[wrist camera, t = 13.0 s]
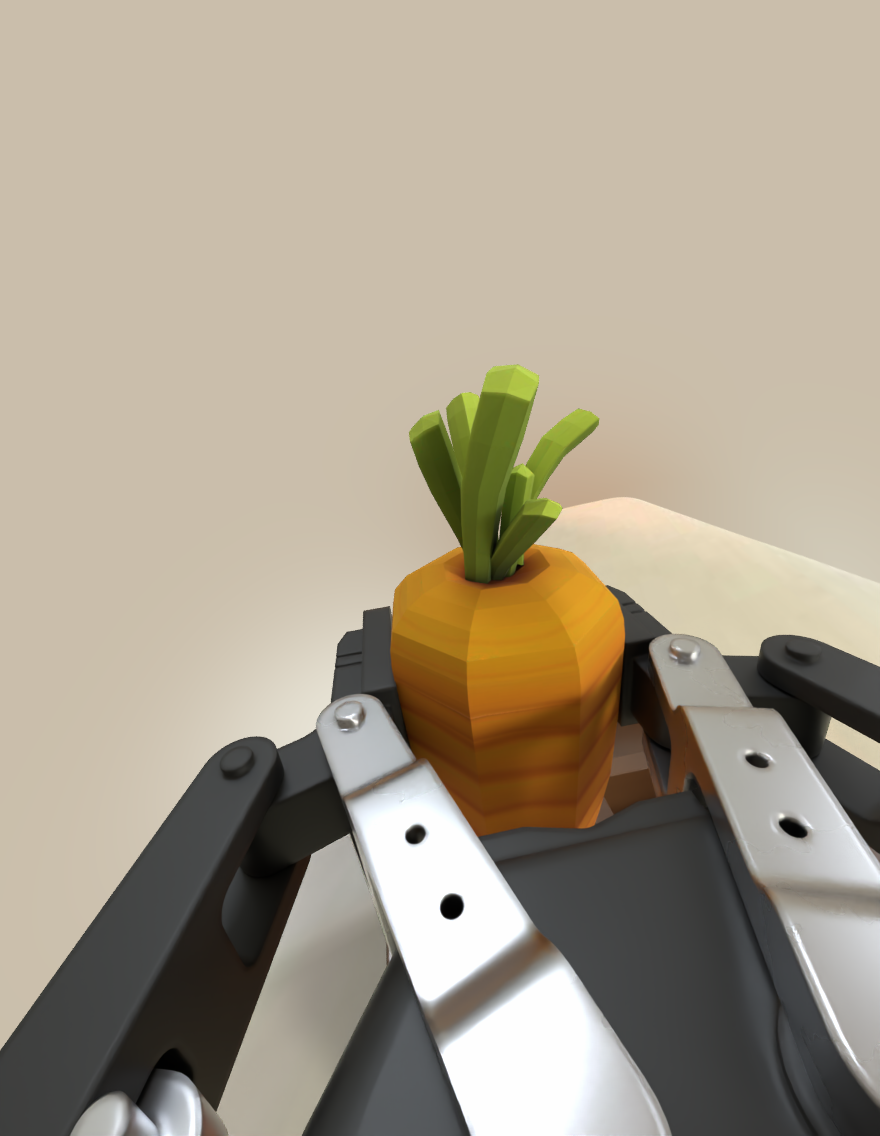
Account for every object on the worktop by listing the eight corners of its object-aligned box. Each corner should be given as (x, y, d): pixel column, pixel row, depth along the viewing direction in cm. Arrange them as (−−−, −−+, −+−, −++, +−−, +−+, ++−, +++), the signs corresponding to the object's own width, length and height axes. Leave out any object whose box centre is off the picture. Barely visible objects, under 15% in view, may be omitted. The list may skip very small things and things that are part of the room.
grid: (417, 1193, 12) (391, 1132, 10) (390, 741, 26) (377, 683, 24) (955, 1041, 13) (1015, 963, 11) (650, 689, 27) (655, 631, 25)
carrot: (465, 815, 17) (401, 375, 11) (610, 846, 15) (632, 345, 9) (416, 975, 12) (262, 398, 6) (609, 1044, 11) (652, 349, 5)
